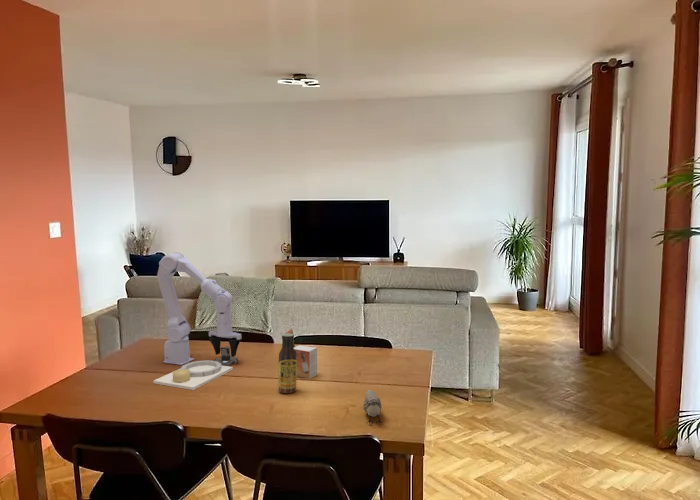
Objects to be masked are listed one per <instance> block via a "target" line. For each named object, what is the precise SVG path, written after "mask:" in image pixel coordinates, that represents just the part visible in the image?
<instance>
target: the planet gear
mask: <svg viewBox="0 0 700 500" xmlns="http://www.w3.org/2000/svg"><path fill="white" fill-rule="evenodd" d="M213 361H218V362H219V363H221V365H222V366H229V367H230V365H236V364H237V363H238V361H239V358H238V357H236V356H234V357H231V348H230V346H229V345H228V346H220V356H219V357H215V358H214V360H213Z"/></svg>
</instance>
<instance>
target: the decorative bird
mask: <svg viewBox="0 0 700 500" xmlns="http://www.w3.org/2000/svg"><path fill="white" fill-rule="evenodd" d="M382 406H383V405H382V402H381V399H380V398H379V397H378V395H377V394H376V392H375V391H374V390H371V389H369V390H367V391H366V392H365V395H364V400H363V410H364V411H365V413H367V414H368V421H367V422H365V424H366V425H367V424H368V423H369V425H371V424H372V425H373V424H374V423H373V421H372V420H371V417H372V418H373V417H375V418H376V416H378V420H377V421H376V422H375V424H377V423H378V424H380V423H381V424H383V421H382V420H381V419H380V415H381V414H380V411H381V410H382Z"/></svg>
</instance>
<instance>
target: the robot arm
mask: <svg viewBox="0 0 700 500" xmlns="http://www.w3.org/2000/svg"><path fill="white" fill-rule="evenodd" d="M158 265H159V267H158V270H157V274H156V276H157V281H158V286H159V290H160V292H161V293H160V294H161V296H162V301H163V304H164V308H165V310H166V315H167V318H168V320H167V324H166V327H167V333H166V335H167V338H168V339H167V340H166V341H165V342H164V346H163V350H164V351H163V352H164V354H163V355H164V360H163V361H162V362H163V363H165V364H172V365H180V366H183V365H185V364H188V363H190V362H193V361H194V360H195V358H194V357H190V342H189V340H190V338H189V334H190V333H191V330H192V329H191V325H190V324H189V322H188V321H187V319H186V317H185V316H184V315H183V313H182V309H181V306H180V302H179V299H178V295H177V292H176V287H175V284H174V281H173V277H174V275H175V274H176V273H177V272H179V273H185V274H186V275H188V276H189V277H190V278H192V279H193V281H195V282H196V283H198V284H199V286H200V290H201V291H202V292H203V293H205V294H206V295H207V296H208V297H209V298H210V299H211V300H212V301H213V305H214V306H215V307H216V328H217V329H216V330H210V331H208V337H209V342H210V344H211V345H212V347H213V349H214V353H215V355H216V356H218V355H219V354H220V355H221V344H222V338H225V339H229V340H228V344H229V347H230V356H231V357H236V356H237V351H238V347H239V344H240V343H241V341H242V333H239V332H234V331H233V320H232V319H233V318H232V304H231V303H232V302H233V295H232V294H231V292H230V291H228V290H226V289H225V288H222V287H221V286H220V285H219V284H218V283H217V281H216V279H212V278H207V277H205V275H204V274H203V273H201V271H199V269H197V267H195V266H194V264H193V263H192V262H191V261H190V260H189V259H188V258H187V257H186V256H184V254H182V253H181V252H174V253H172V254H166V255H164V256H162V257H161V260H160V261H159V262H158Z"/></svg>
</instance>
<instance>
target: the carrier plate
mask: <svg viewBox="0 0 700 500" xmlns="http://www.w3.org/2000/svg"><path fill="white" fill-rule="evenodd" d="M233 370H234V366H230V365H229V366H226V365H221V363H219V362H218V361H214V360H210V359H207V360H206V359H205V360H195V361H190V362H187V363H185V364H183V365H181V367H180V368H179V369H175V370H173V371H172V372H170V373H167V374H164V375H162V376H161V377H159V378H156V379H154V380H153V381H152V382H153V384H156V385H161V386H167V387H173V388H179V389H185V390H190V391H191V390H192V391H195V390H197V389H198V388H201V387H202V386H204V385H206V384H208V383H210V382H212V381H215V380H217V379H218V378H220V377H222V376H223V375H225V374H227V373H229V372H231V371H233Z"/></svg>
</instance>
